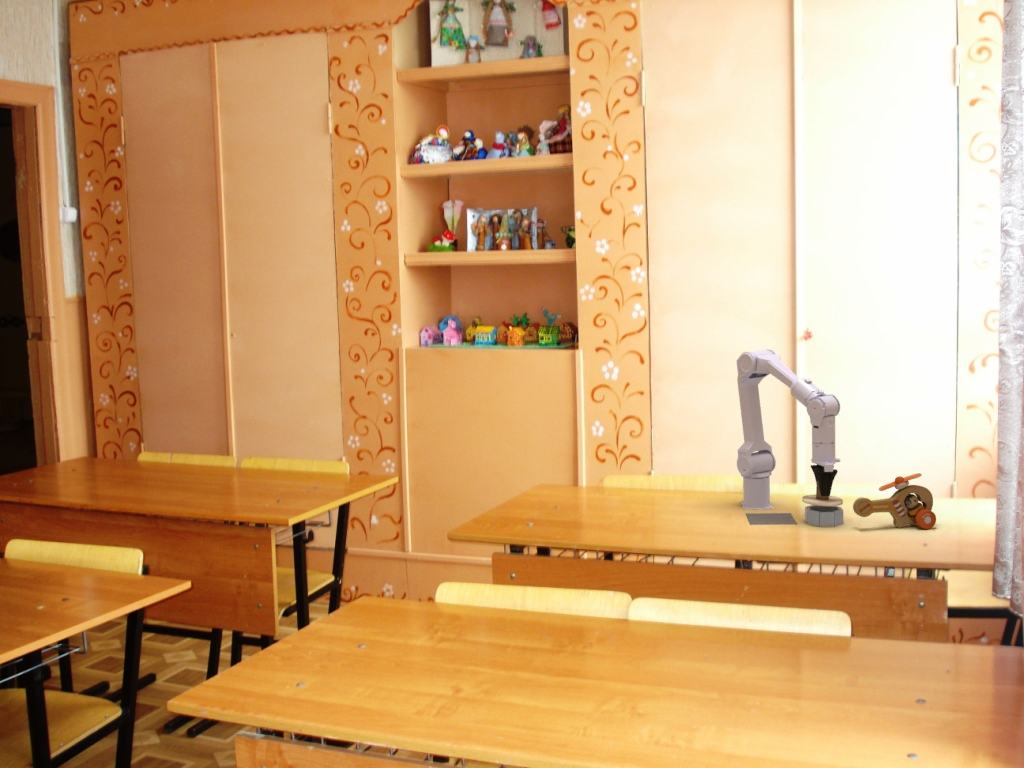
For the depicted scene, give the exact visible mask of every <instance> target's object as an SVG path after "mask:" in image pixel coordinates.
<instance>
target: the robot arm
mask: <svg viewBox="0 0 1024 768" xmlns="http://www.w3.org/2000/svg"><path fill="white" fill-rule="evenodd" d="M736 367H737V388H738V397H739V398H738V399H739V407H740V415H741V424H742V425H741V426H742V431H743V432H742V433H743V440H744V441H743V444H742V445H741V446H739V448H738V449H737V458H736V468H737V470H738V472H739V474H740V477H742V479H743V480H742V486H743V487H742V488H743V494H742V495H743V496H742V497H743V500H740V501H739V502H740V504H741V507H742V509H743V510H773V509H774V507H773V506H772V503H771V499H770V498H771V495H770V494H771V492H770V491H771V490H770V488H771V487H770V486H771V483H770V479H771V478H770V476H772V472H773V471H774V470H775V468H776V463H777V461H776V457H775V455H774V453H773V447H772V445H770V443H768V442H767V441H766V440H765V435H764V434H765V433H764V427H763V426H764V425H763V417H762V407H761V400H760V393H759V391H760V390H759V384H760V383H761V382H762V380H763V379H765V378H766V377H768V376H769V375H772V376H773V377H775V378H776V379H778V381H780V382H782V383H783V385H785V386H787V387H788V388H790V394H791V396H792V397H793V398H794V399H796V400H797V401H798V402H799V403H800V404H802V405H803V406H804V407H805V408H806V412H807V415H808V416H809V420H810V422H809V423H810V424H811V457H812V458H811V460H810V461H811V463H812V464H813V465H812V464H811V465H810V469H811V470H812V472H813V474H814V479H815V483H816V484H815V485H817V480H818V482H819V489H820V494H821V496H831V492H832V488H833V487H832V486H833V483H834V480H835V477H836V476H837V475H838V469H834V467H835V464H837V463H840V462H841V459H840V458H839V457H836V416H838V415H839V413H840V410H841V403H840V401H839V399H838V398H837V396H835V395H834V394H827V393H826V392H825V391H823V390H822V389H820V388H819V387H817V386H816V385H815V384H813V381H812V379H811V378H806V377H803V378H800V377H798V376H797V375H796V374H795V373H794V371H792V370H791V369H790V368H789V367H788V366H787V365H786V364H785V363H784V362H783V361H782V360H781V356H780V355H779V354H777V353H776V352H775V350H773V349H766V350H755V351H744V352H742V353H741V354H740V355H739V356H738V358H737V359H736Z"/></svg>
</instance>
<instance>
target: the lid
mask: <svg viewBox="0 0 1024 768" xmlns="http://www.w3.org/2000/svg"><path fill="white" fill-rule="evenodd" d="M815 491H816V493H815V494H805V495H804V496H802V498H801V499H802V500H801V501H802V502H803V503H804V504H807V505H816V506H839V507H840V506H842V505H843V504H844V501H843V500H844V499H843V498H841V497H837V496H835V495H834V496H833V495H830V496H821V494H820V489H819V482H818V480H817V484H816V490H815Z"/></svg>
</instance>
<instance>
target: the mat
mask: <svg viewBox="0 0 1024 768" xmlns="http://www.w3.org/2000/svg"><path fill="white" fill-rule="evenodd" d="M745 517H746V518H747V521H748V524H749V525H751V526H752V525H754V526H755V525H756V526H757V525H761V526H762V525H765V526H766V525H778V526H779V525H798V523H797V521H796V519H795V518H794V515H792V513H791V512H784V513H783V512H779V513H777V512H775V513H773V512H771V513H770V512H766V513H764V512H763V513H761V512H757V513H755V512H754V513H753V512H751V513H750V512H749V513H745Z"/></svg>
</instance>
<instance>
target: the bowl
mask: <svg viewBox="0 0 1024 768" xmlns="http://www.w3.org/2000/svg"><path fill="white" fill-rule="evenodd" d="M804 521H805V523H806V524H807V525H809V526H814V527H819V528H820V527H821V528H824V527H825V528H827V527H829V528H831V527H833V528H834V527H839V526H842V525H844V509H843V508H842V507H841V506H840V505H839V506H816V505H811V504H809V505H806V506H804Z"/></svg>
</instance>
